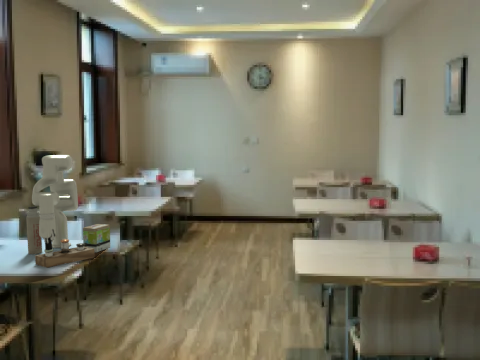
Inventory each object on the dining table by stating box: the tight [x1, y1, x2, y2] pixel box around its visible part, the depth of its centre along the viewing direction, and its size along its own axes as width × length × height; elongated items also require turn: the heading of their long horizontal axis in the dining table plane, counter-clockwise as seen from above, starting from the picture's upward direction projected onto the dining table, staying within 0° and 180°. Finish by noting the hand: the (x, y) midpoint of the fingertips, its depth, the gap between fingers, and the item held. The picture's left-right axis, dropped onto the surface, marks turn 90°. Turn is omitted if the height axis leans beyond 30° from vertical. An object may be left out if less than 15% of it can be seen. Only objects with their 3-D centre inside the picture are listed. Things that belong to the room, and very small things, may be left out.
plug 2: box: [76, 242, 85, 250], centre depth 324 cm, size 5×5×7 cm
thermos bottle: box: [25, 205, 43, 255], centre depth 338 cm, size 8×8×28 cm
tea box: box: [82, 223, 111, 253], centre depth 344 cm, size 15×10×15 cm
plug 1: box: [43, 248, 54, 257], centre depth 309 cm, size 5×5×7 cm
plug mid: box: [60, 238, 70, 254], centre depth 317 cm, size 5×5×7 cm
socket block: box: [34, 246, 96, 268], centre depth 317 cm, size 12×30×5 cm, turn 139°
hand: (48, 249), depth 309 cm, fingers closed
